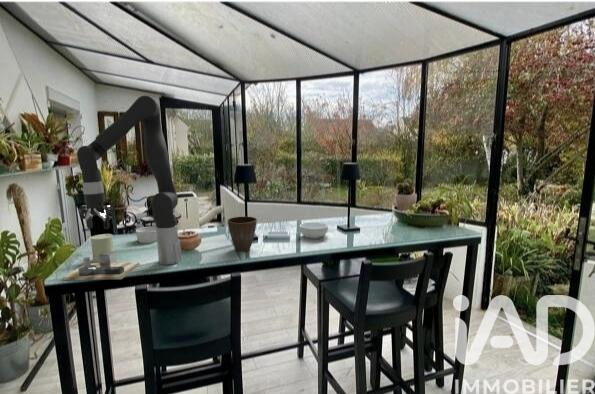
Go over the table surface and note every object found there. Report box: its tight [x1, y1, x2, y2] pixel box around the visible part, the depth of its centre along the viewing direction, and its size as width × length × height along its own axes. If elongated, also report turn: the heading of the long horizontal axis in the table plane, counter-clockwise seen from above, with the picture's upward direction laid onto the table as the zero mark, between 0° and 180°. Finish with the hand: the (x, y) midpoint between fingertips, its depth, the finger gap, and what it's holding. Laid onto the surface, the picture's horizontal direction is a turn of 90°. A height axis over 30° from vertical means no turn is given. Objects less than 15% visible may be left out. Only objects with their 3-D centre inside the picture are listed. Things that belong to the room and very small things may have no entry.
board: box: [62, 262, 141, 281], centre depth 141 cm, size 24×16×1 cm, turn 90°
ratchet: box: [77, 256, 124, 276], centre depth 137 cm, size 18×6×7 cm, turn 90°
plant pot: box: [227, 216, 258, 253], centre depth 169 cm, size 15×15×16 cm
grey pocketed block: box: [99, 250, 117, 267], centre depth 145 cm, size 5×5×6 cm
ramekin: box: [135, 225, 157, 244], centre depth 187 cm, size 13×13×7 cm
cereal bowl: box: [299, 221, 329, 240], centre depth 192 cm, size 17×17×7 cm
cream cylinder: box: [90, 233, 115, 263], centre depth 156 cm, size 9×9×12 cm
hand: (98, 228), depth 144 cm, fingers open, 8 cm apart
